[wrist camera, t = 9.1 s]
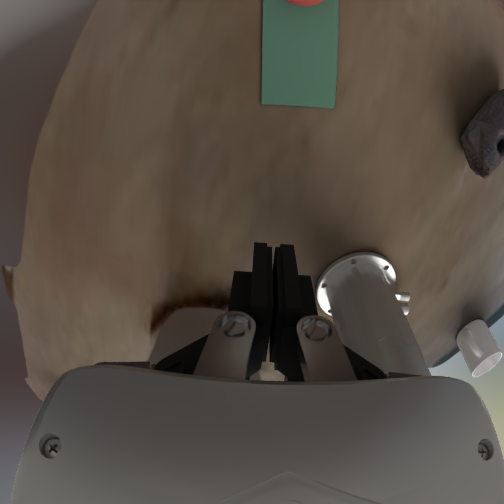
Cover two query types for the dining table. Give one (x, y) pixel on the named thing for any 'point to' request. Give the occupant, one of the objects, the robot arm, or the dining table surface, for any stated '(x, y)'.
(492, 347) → the mug
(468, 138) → the perforated stone tool
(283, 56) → the strip
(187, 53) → the dining table surface
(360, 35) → the dining table surface
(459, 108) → the dining table surface
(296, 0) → the ball
